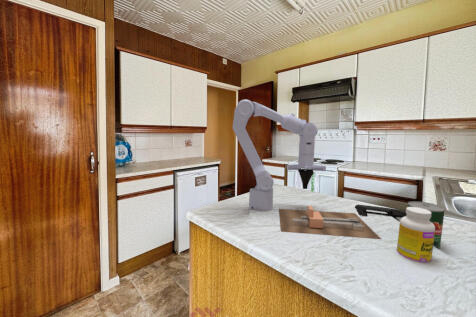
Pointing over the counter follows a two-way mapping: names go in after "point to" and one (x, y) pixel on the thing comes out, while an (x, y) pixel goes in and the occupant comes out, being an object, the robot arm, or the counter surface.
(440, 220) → the canned tomato
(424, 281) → the counter surface
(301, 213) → the walnut board
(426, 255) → the supplement bottle
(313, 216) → the sleeve
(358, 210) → the door handle
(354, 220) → the tong arm
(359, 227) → the fixed tong arm
